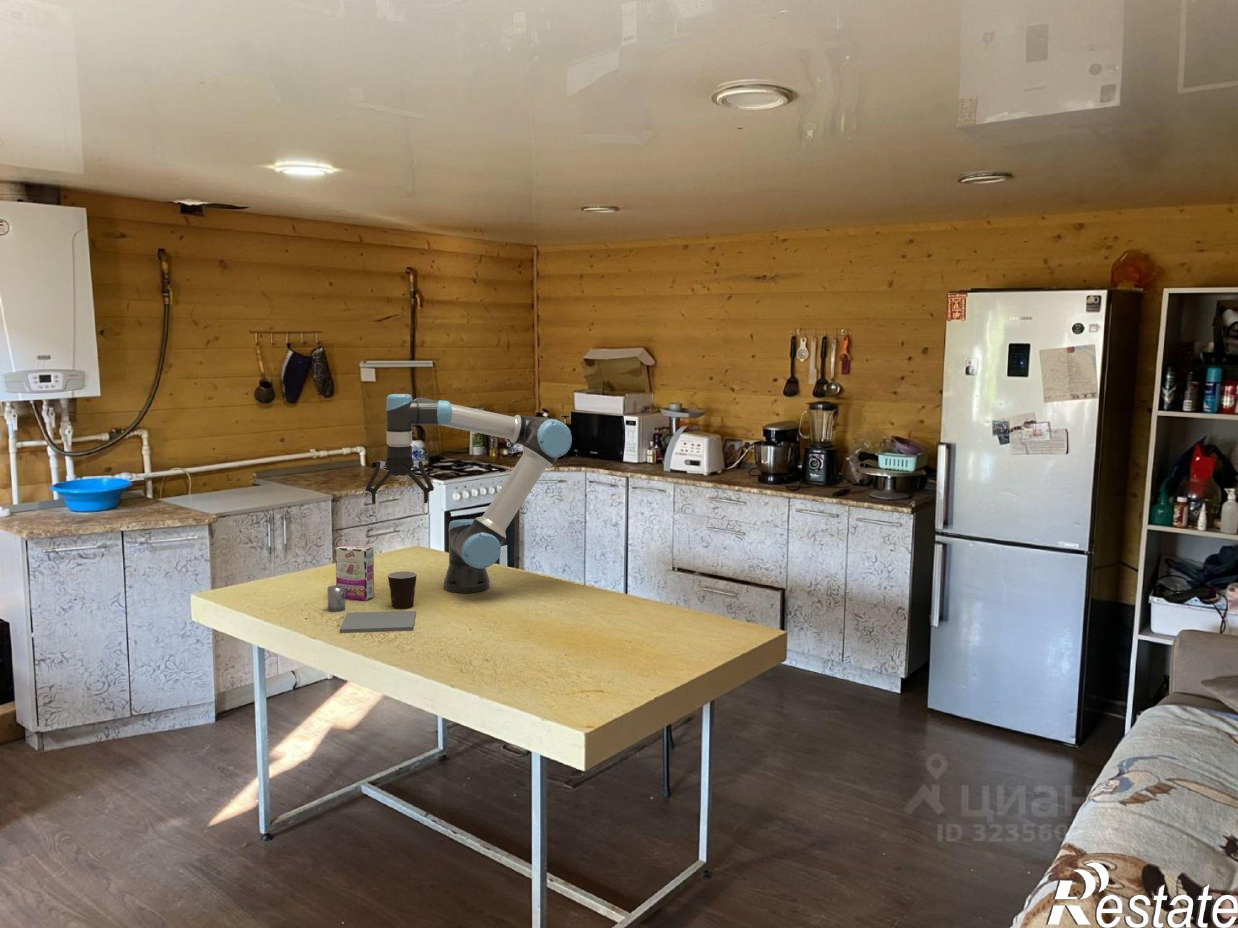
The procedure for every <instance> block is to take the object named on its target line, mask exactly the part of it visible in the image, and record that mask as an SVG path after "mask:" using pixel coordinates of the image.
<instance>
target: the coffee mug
mask: <svg viewBox="0 0 1238 928" xmlns="http://www.w3.org/2000/svg"><path fill="white" fill-rule="evenodd" d="M417 577H418V576H417V572H414V571H410V570H409V571H404V570H403V571H394V572H390V573H389V574H388V575H387V579H388V585H389V594H390V601H391V602H390V603H391V607H392V609H395V610H408V609H411V608H413V607H414V602H415V593H416V584H417Z"/></svg>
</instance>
